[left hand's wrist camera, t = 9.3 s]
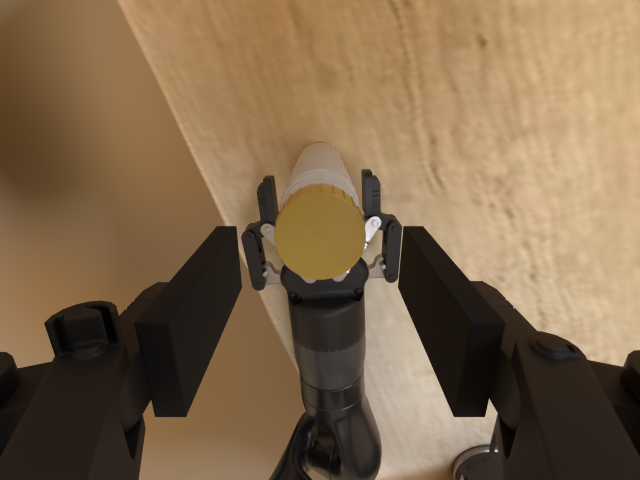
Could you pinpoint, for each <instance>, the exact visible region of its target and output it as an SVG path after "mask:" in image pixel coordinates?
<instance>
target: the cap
mask: <svg viewBox="0 0 640 480" xmlns="http://www.w3.org/2000/svg"><path fill="white" fill-rule="evenodd" d="M275 223H276V226H275V230H274V243H275V248H276V250H277V253H278V255H279V257H280V259H281V260H282V262H283V263H284V264H285V265H286V266H287V267H288V268H289V269H290V270H292V271H293V272H295V273H296V274H298V275H300V276H303V277H306V278H309V279H316V280H324V279H331V278H335V277H337V276H340V275H342V274H344V273H345V272H347V271H348V270H350V269H351V268H352V267H353V266H354V265H355V264H356V263H357V262H358V260H359V259H360V257H361V255H362V253H363V250H364V247H365V242H366V231H365V227H366V226H365V223H364V221H363V218H362V214H361V211H360V209H359V206H357V205H356V203H355V202H354V200H353V197H350V196H349V195H348V194H347V193H346V192H345V191H344V190H341V189H339V188H337V187H335V186H334V185H328V184H323V183H321V184H312V185H311V184H310V185H308V186H305V187H303V188H299V190H297V191H295V192H294V193H293V194H290V196H289V198H288V199H287V200H286V202H285V203H283V205H282V207H281V210H280V212H279V214H278V216H277V219H276V222H275Z"/></svg>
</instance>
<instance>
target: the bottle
mask: <svg viewBox="0 0 640 480" xmlns="http://www.w3.org/2000/svg"><path fill="white" fill-rule="evenodd" d="M321 183H323V184H328V185H334V186H335V187H337V188H339V189H341V190H344V191H345V192H346V193H347V194H348V195H349V196H350V197H353V200H354V202H355V203H356V205H357V206H359V199H358V196H357V193H356V191H355V188H354V186H353V184H352V181H351V179H350V177H349V174H348V172H347V169H346V167H345V165H344V162H343V160H342V158H341V155H340V154H339V152H338V151H337V150H336V149H335V148H334V147H333V146H331V145H329V144H327V143H321V142H320V143H313V144H311V145H309V146H307V147H306V148H305V149H304V150H303V151H302V152H301V153H300V155H299V157H298V160H297V162H296V165H295V167H294V169H293V172H292V174H291V176H290V179H289V181H288V183H287V186H286V188H285V190H284V193H283V196H282V199H281V207H282V205H283V203H285V202H286V200H287V199H288V198H289V196H290V194H293V193H294V192H295V191H297V190H299V188H303V187H305V186H308V185H310V184H311V185H312V184H321Z"/></svg>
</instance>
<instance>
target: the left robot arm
mask: <svg viewBox="0 0 640 480" xmlns="http://www.w3.org/2000/svg"><path fill="white" fill-rule="evenodd" d="M241 288H242V283H241V272H240V261H239V250H238V239H237V228H236V226H217V227H216V228H215V229H214V231H213V232H212V233H211V234H210V235H209V236H208V238H207V239H206V240H205V241H204V242H203V243H202V245H201V246H200V247H199V248H198V249H197V250H196V252H195V253H194V254H193V255H192V256H191V257H190V258H189V260H188V261H187V262H186V263H185V264H184V265H183V267H182V268H181V269H180V270H179V271H178V272H177V274H176V275H175V276H174V277H173V278H172V279H171V281H170V282H158V283H156V284H154V285H152V286H150V287H149V288H147V289H145V290H144V291H143V292H142V293H141V294H140V295H139V296H138V297H137V298H136V299H135V302H132V303H131V304H130V305H129V306H128V307H127V310H124V311H123V312H122V313H121V314H120V316H118V311H117V307H116V305H114V304H113V303H111V302H106V301H91V302H85V303H81V304H77V305H74V306H71V307H68V308H66V309H63V310H61V311H60V312H58V313H56V314H54V315H52V316H51V317H50V318H49V319H48V320H47V321H46V322H45V323H44V324H45V327H46V330H47V333H48V336H49V339H50V342H51V345H52V348H53V351H54V354H55V357H54V359H53V361H52V362H48V363H43V364H38V365H33V366H28V367H23V368H18V369H17V366H16V364H15V361H14V359H13V356H11V355H10V354H8V353H7V352H0V480H138V479H139V472H140V465H141V457H142V450H143V443H144V436H145V423H144V419H143V413H144V411H145V409H146V407H147V406H148V404H149V402H150V400H152V405H153V409H154V414H155V417H186V416H187V413H188V411H189V409H190V406H191V404H192V402H193V399H194V397H195V395H196V393H197V390H198V388H199V386H200V383H201V381H202V379H203V376H204V374H205V372H206V369H207V367H208V365H209V362H210V360H211V358H212V355H213V353H214V351H215V349H216V346H217V344H218V342H219V339H220V337H221V335H222V332H223V330H224V328H225V325H226V323H227V321H228V318H229V316H230V314H231V312H232V309H233V307H234V305H235V302H236V300H237V297H238V295H239V293H240V291H241ZM398 288H399V291H400V293H401V295H402V298H403V300H404V302H405V305H406V307H407V309H408V312H409V314H410V316H411V319H412V321H413V323H414V325H415V328H416V330H417V332H418V335H419V337H420V339H421V342H422V344H423V346H424V349H425V351H426V353H427V356H428V358H429V360H430V362H431V365H432V367H433V369H434V372H435V374H436V376H437V379H438V381H439V383H440V386H441V388H442V390H443V393H444V395H445V397H446V399H447V402H448V404H449V406H450V409H451V411H452V413H453V416H454V417H485V414H486V409H487V405H488V400H489V399H490V400H491V402H492V404H493V406H494V407H495V409H496V411H497V412H498V414H497V419H496V423H495V427H494V431H493V435H492V439H491V443H490V449H489V453H493V454H494V452H495V448H496V446H497V449H498V457H499V464H500V471H501V478H502V480H640V350H637V351H633V352H631V353H630V354H628V356H627V359H626V361H625V364H624V366H623V367H621V366H615V365H610V364H605V363H600V362H595V361H590V360H587V358H586V356H585V355H584V354H583V353H582V351H581V350H580V349H579V348H578V347H577V346H575V345H574V344H572V343H571V342H569V341H568V340H565V339H563V338H561V337H559V336H556V335H553V334H550V333H546V332H541V331H537V330H536V329H535V328H534V327H533V326H532V325H531V324H530V323H529V322H528V321H527V320H526V319H525V318H524V317H523V316H522V315H521V314H520V313H519V312H518V311H517V310H516V309H515V308H513V306H512V305H511V304H510V302H509V301H508V300H506V298H505V297H504V296H503V295H502V294H501V293H500V292H499V291H498V290H497V289H495V288H494V287H492V286H490V285H488V284H487V283H485V282H483V281H469V279H468V278H467V277H466V276H465V275H464V274H463V272H462V271H461V270H460V269H459V268H458V267H457V265H456V264H455V263H454V262H453V261H452V260H451V258H450V257H449V256H448V255H447V254H446V253H445V251H444V250H443V249H442V248H441V247H440V246H439V245H438V243H437V242H436V241H435V240H434V239H433V238H432V236H431V235H430V234H429V233H428V232H427V231H426V229H425V228H424V227H423V226H404V228H403V239H402V250H401V261H400V272H399V283H398Z"/></svg>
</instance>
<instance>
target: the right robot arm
mask: <svg viewBox="0 0 640 480" xmlns="http://www.w3.org/2000/svg"><path fill="white" fill-rule="evenodd" d="M257 196H258V203H259V211H260V218H261V220H260V221H258V222H256V223H251V224H249V225H248V226H247V228H246V230H245V231H244V233H243V234H242V237H241V238H242V243H243V247H244V252H245V256H246V260H247V265H248V269H249V274H250V278H251V282H252V286H253V288H254V289H255V290H262V289H264V287H265V285H270V284H279V283H282V284H283V286H284V287H285V288H286V290H287V294H288V302H289V311H290V319H291V328H292V336H293V344H294V352H295V358H296V361H297V364H298V368H299V375H300V383H301V393H302V399H303V403H304V406H305V409H306V412H305V413H304V414H303V415H302V416H301V418H300V420H299V422H298V423H297V425H296V428H295V430H294V432H293V434H292V437H291V439H290V441H289V443H288V445H287V447H286V449H285V451H284V453H283V455H282V457H281V459H280V461H279V463H278V465H277V467H276V469H275V470H274V472H273V474H272V475H271V477H270V479H269V480H312V479H311V478H310V477H309V476H308V474H307V473H308V472H309V471H310V469H313V470H314V471H316V472H318V473H319V474H321V475H322V476H324V477H325V478H327V479H329V480H375V478H376V476H377V474H378V471H379V468H380V464H381V456H382V446H381V438H380V434H379V430H378V427H377V424H376V421H375V418H374V416H373V413H372V410H371V408H370V405H369V402H368V399H367V397H366V395H365V392H364V359H365V350H366V341H365V305H364V286H365V283H366V281H367V279H368V278H385V279H386V281H387V282H389V283H393V282H395V281H396V280H397V279H398V271H399V258H400V246H401V233H402V226H401V224H400V223H399V221H398V220H397V218H396V217H395V216H394V215H392V214H389V215H388V214H384V213H382V212H381V211H380V182H379V180H378V178H377V177H376V176H375V175H374V176H372V171H371V170H370V169H364V170H362V208H363V211H364V215H363V216H362V218H363V221H364V223H365V226H366V227H365V231H366V242H365V247H364V250H365V249H366V247H367V246H368V243H369V241H370V239H371V238H372V237H373V235H374V234H375V233H376V231H377V230H378V229H379V230H383V239H382V254H379V255H377V256H376V257H375V259H374V262H373V263H372V264H371V265H367V264H366V262H365V261H364V260H363V259H362V257H360V259H359V260H358V262H357V263H356V264H355V265H354V266H353V267H352V268H351V269H350V270H348V271H347V272H345V273H344V274H342V275H340V276H337V277H335V278H331V279H324V280H316V279H309V278H306V277H303V276H300V275H298V274H296V273H295V272H293V271H292V270H290V269H289V268H288V267H287V266H286V265H285V264H284V266H283V268H282V270H281V271H278V270H276V269H275V268H274V266H273V264H272V263H271V262H268V261H266V259H265V254H264V249H263V244H262V239H261V238H262V237H266V238H267V239H268V240H269V241H270V242H271V243H272V244H273V245H274V246H275V243H274V230H275V226H276V223H275V222H276V219H277V216H278V214H279V213H278V204H277V196H276V187H275V179H274V176H265V178H264V179H263V183H261V184H260V185H259V186H258V190H257ZM364 250H363V252H364ZM489 449H490V445H487V446H479V447H475V448H472V449H470V450H468V451H466V452H464V453H463V454H462V455H460V456H459V457H458V458H457V459H456V461H455V462H454V464H453V467H452V475H453V478H454V480H502V478H501V471H500V464H499V457H498V449H497V446H496V448H495V452H494V454H493V453H489Z"/></svg>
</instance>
